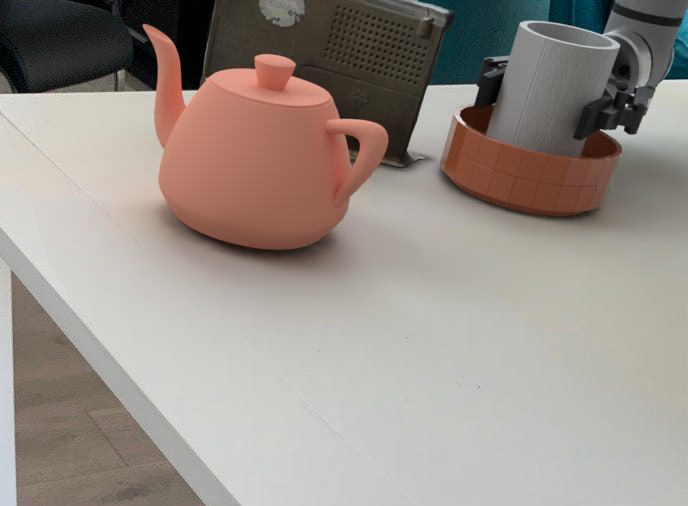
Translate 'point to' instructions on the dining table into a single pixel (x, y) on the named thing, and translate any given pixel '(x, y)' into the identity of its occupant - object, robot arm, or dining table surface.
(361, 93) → the radio
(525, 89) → the cup
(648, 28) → the robot arm
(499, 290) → the dining table surface
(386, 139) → the teapot
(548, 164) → the bowl
